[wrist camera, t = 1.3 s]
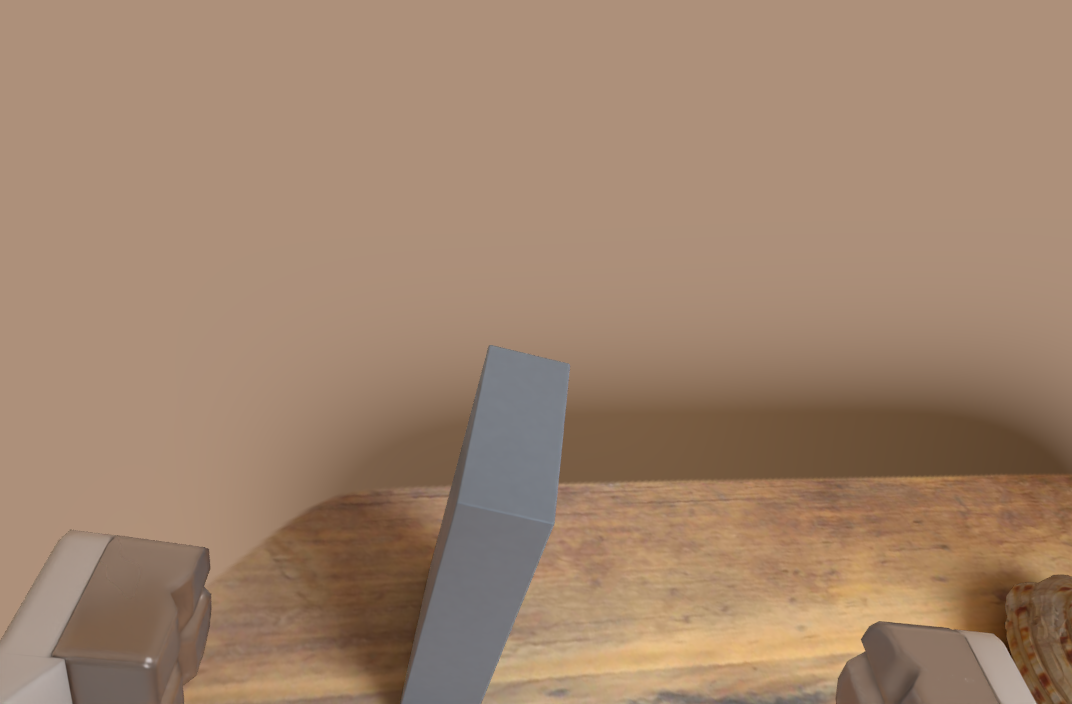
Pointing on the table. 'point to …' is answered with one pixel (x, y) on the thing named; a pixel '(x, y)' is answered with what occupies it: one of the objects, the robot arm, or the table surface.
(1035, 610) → the seashell
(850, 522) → the table surface
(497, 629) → the grey rectangular block
